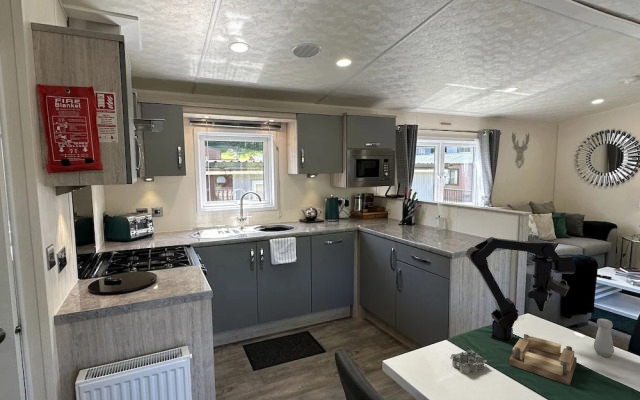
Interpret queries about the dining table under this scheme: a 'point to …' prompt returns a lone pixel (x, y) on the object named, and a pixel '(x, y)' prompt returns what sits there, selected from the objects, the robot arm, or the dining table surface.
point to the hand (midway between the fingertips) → (541, 311)
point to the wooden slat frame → (544, 361)
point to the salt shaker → (604, 338)
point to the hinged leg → (543, 344)
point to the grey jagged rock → (471, 358)
